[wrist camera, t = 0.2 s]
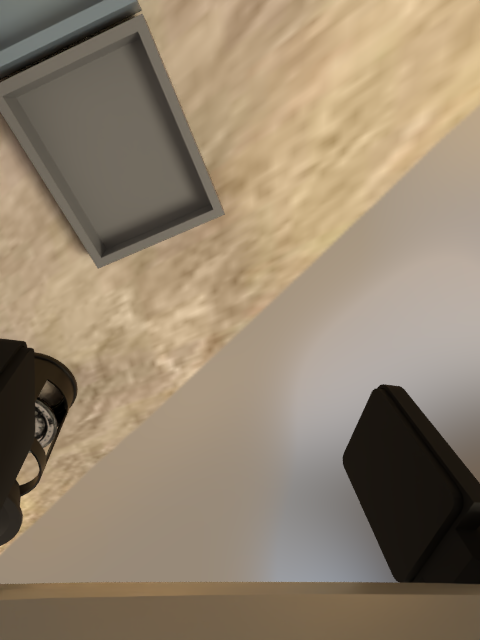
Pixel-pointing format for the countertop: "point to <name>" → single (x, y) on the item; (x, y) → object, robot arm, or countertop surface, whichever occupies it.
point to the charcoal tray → (112, 142)
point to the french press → (39, 435)
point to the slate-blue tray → (52, 26)
